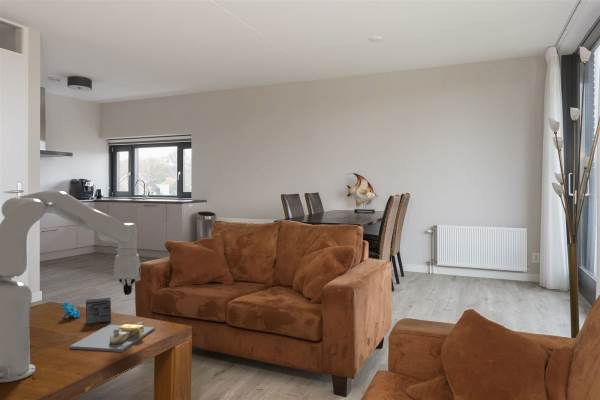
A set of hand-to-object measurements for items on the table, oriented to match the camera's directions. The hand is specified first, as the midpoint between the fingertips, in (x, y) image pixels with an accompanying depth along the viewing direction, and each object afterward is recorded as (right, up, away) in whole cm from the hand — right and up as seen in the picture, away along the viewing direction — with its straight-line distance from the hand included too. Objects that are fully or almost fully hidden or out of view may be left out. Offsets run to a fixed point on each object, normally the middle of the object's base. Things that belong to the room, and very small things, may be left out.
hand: (127, 294), depth 184 cm
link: (+2, -16, -6) cm, 17 cm away
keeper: (+4, -16, -6) cm, 18 cm away
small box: (-20, -17, +16) cm, 31 cm away
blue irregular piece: (-36, -17, +23) cm, 46 cm away
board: (-3, -17, -6) cm, 18 cm away
